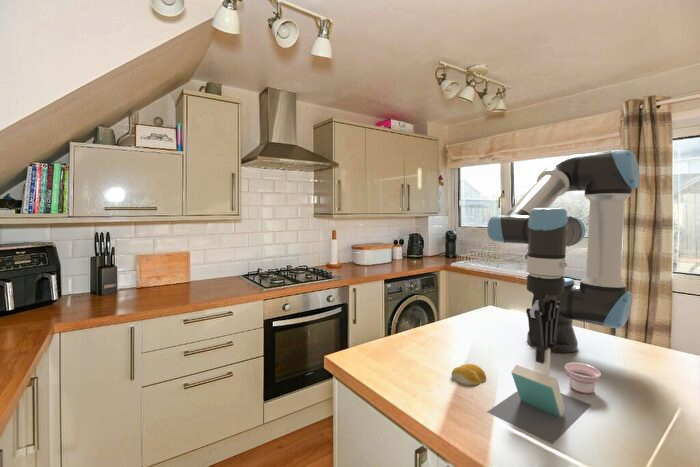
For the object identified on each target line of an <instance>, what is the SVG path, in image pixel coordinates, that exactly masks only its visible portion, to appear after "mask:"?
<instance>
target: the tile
mask: <svg viewBox="0 0 700 467" xmlns="http://www.w3.org/2000/svg"><path fill="white" fill-rule="evenodd" d="M511 375H512V376H511V377H512V378H513V379H512V380H513V381H514V384H515V388H516V391H518V393H519V396H520V399H521V401H523V402H525V403H528V404H530V405H532V406H534V407H537V408H539V409H541V410H544V411H546V412H548V413H551V414H553V415H555V416H557V417H561V416H562V414H563V412H564V410H565V407H564V403H563V399H562V396H561V389H560V386H559V380H558V379H557V378H554V377H553V376H547V375H544V374H541V373H538V372H535V370H532V369H529V368H527V367H524V366H520V365H519V364H515V365H514V367H513V369H512V370H511Z"/></svg>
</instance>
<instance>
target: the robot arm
mask: <svg viewBox="0 0 700 467" xmlns="http://www.w3.org/2000/svg"><path fill="white" fill-rule="evenodd" d="M640 176H641V175H640V169H639V163H638V159H637V156H636V154H635V153H634V152H633V151H631V150H626V149H625V150H624V149H623V150H622V149H620V150H609V151H601V152H591V153H585V154H573V155H570V156H567V157H565V158H562V159H559V160H558V161H556V162H554V163H552V164H551V165H549V166H548V167H546V168H545V169H544V170H543V171H542V172H541V173H540V174H539V175H538V177H537V180H536V183H535V184H533V186H531V188H530V189H529V190H528V191H527V192H526V193H525V194H524V195H523V196H522V198H520V200H518V201H517V203H516V204H514V206H513V207H512V208H510V210H509V211H508V212H507V213H505V214H504V215H502V214H499V215H493V216H491V217H490V219H489V220H488V222H487V227H486V230H487V235H488V237H489V239H490V240H491V241H493V242H497V243H504V244H506V243H507V244H522V245H527V260H526V261H527V262H526V263H527V264H526V272H527V273H528V275H527V276H526V289H527V291H528V292H530V293H532V295H533V297H532V302H531V308H528V307H527V308H526V312H525V313H526V315H527V319H528V332H527V335H526V337H527V339H526V342H528V344H529V345H530V347H532V348H535V351H534V352H535V353H534V354H535V357H534V371H535V372H538V373H541V374H544V375H547V376H549V377H551V376H550V372H551V371H550V370H551V353H558V354H559V353H560V354H570V353H571V354H572V353H575V352H577V351H578V339H577V336H576V333H575V330H574V327H573V321H577V322H578V321H579V322H582V323H587V324H592V325H596V326H600V327H603V328H605V327H606V328H612V329H620V328H623V327H624V326H625V325H626V323H627V321H628V318H629V316H630V313H631V309H632V306H633V296H634V295H633V293H632V292H631V291H628V290H627V285H626V284H625V282H623V281H622V280H621V269H622V266H621V265H622V253H623V252H622V251H623V249H622V248H623V232H624V220H625V219H624V216H625V215H624V214H625V201H626V200H627V199H628V198H630V197H631V196H632V192H633V191H632V190H636V189H638V188H639V186H640V180H641V177H640ZM576 191H577V192H580V191H583V192H584V197H585V198H586V199H588V201H589V215H588V234H587V250H586V251H587V252H586V254H587V255H586V270H585V271H586V273H585V276H584V277H583V278H581V279H580V280H579V284H575V281H574V279H573V278H569V277H568V278H566V277H563V276H564V275H565V273H566V272H565V270H566V268H567V267H568V263H567V262H566V252H567V247H568V248H569V247H571V246H574V245H576V244H578V243H580V242H581V241H582V240H584V238H585V236H586V227H585V223H584V222H583V221H582V220H581V219H579V218H578V217H577V216H576V217H575V216H572V215H568V212H567V210H566V209H565V208H562V207H561V208H559V207H555V208H554V207H553V208H550V206H552V205H553V203H554V202H555V201H556V199H557V198H559V197H561V196H563V195H564V194H566V193H567V192H568V193H569V192H576Z"/></svg>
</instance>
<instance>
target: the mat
mask: <svg viewBox="0 0 700 467" xmlns="http://www.w3.org/2000/svg"><path fill="white" fill-rule="evenodd" d="M561 396H562V399H563V403H564V407H565V410H564V412H563V414H562V416H561V417H557V416H555V415H553V414H551V413H548V412H546V411H544V410H541V409H539V408H537V407H534V406H532V405H530V404H528V403H525V402H523V401H521V399H520V396H519V393H518V390H516V392H514V393H512V394H510V395H508V397H506V398H505V399H504V400H502V401H501V402H499V403H498V404H496V405H495V406H493V407H491V408H490V409H489V410H487V411H486V413H489V414H490V415H492V416H494V417H496V418H499V419H500V420H502V421H504V422H506V423H509V424H510V425H513V426H515V427H517V428H518V429H520V430H522V431H524V432H527V433H529V434H531V435H533V436H535V437H537V438H539V439H541V440H542V441H545V442H547V443H548V444H551V445H553V444H554V443H555V442H556V441H558V439H559V438H560V437H561V436H563V435H564V433H565V432H566V431H567V430H568V429H569V428H570V427H571V426H573V424H574V423H575V422H576V421H577V420H579V418H580V417H581V416H582V415H584V413H586V411H587V410H588V409H589V408H590V407H591V406H592V404H591V403H588V402H585V401H582V400H580V399H578V398H574V397H572V396H570V395H567V394H564V393H561Z"/></svg>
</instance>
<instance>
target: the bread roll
mask: <svg viewBox="0 0 700 467" xmlns="http://www.w3.org/2000/svg"><path fill="white" fill-rule="evenodd" d="M451 378H452V379H453V381H454V382H459V383H461V384H463V385H466V386H476V385H480V384H481V383H485V382H486V380H487V375H486V372H485V371H484V370H483V368H481V367H480V366H478V365H477V364H474V363H468V364H467V363H465V364H461V365H460V366H457V367H455V368H453V370H452V372H451Z"/></svg>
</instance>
